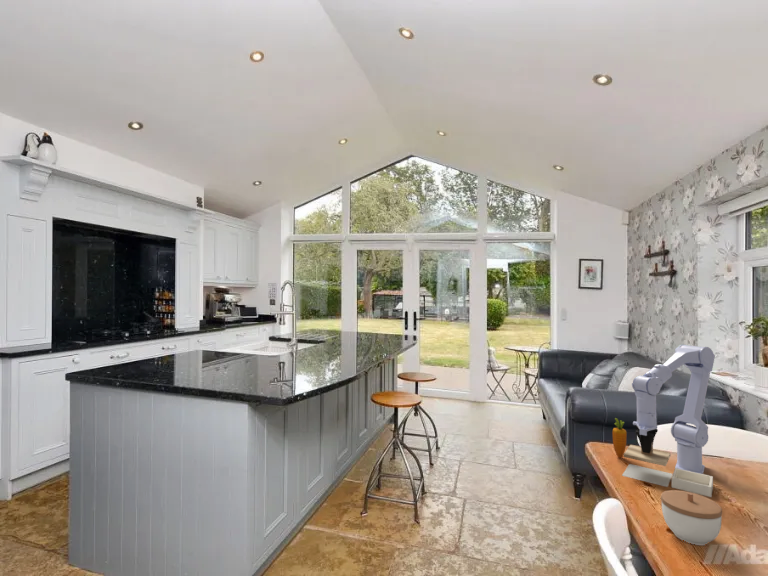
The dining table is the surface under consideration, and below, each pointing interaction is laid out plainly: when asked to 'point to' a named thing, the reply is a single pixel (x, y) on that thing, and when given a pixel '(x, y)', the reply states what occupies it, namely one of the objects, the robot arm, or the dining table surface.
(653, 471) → the rubber mat
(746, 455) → the dining table surface
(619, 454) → the carrot
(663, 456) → the oak lid
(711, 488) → the cream dish
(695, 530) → the lidded bowl
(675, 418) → the robot arm
